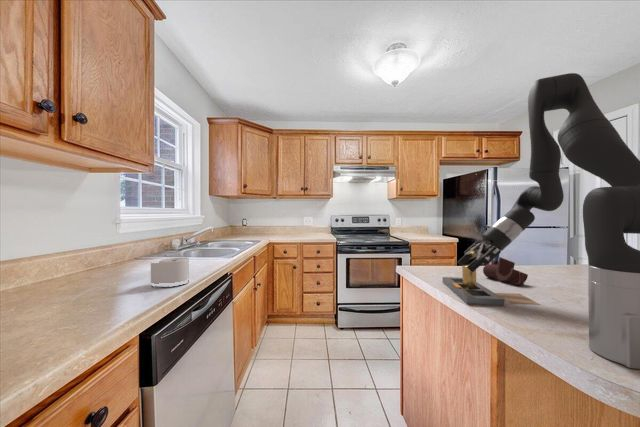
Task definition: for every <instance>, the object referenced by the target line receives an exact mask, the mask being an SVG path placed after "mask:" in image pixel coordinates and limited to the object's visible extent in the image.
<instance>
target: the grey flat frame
mask: <svg viewBox="0 0 640 427" xmlns="http://www.w3.org/2000/svg"><path fill="white" fill-rule="evenodd" d="M442 283H443V284H444V285H445V287H447V288H448V289H449V290H450V291H452V292H453V293H454V294H455V295H456V297H458V298H459V299H461V301H463V302H464V304H466V305H471V306H486V307H487V306H491V307H505V301H506V300H505V299H503V298H501V297H500V296H498V295H497V294H495V293H496V292H493V291H492V290H490V289H489V288H487V287H485V286H484V285H482V284H480V283H479V282H478V281H476V289H463V277H453V276H452V277H451V276H443V277H442Z"/></svg>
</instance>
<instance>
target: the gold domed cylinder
mask: <svg viewBox="0 0 640 427" xmlns="http://www.w3.org/2000/svg"><path fill="white" fill-rule="evenodd" d="M468 265H469V264H465V265H462V266H461V269H462V272H461V273H462V278H463V289H476V282H477V269H476V270H475V271H474V272H471V271H470V270H469V269H468V268H467V266H468Z"/></svg>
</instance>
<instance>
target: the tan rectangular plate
mask: <svg viewBox="0 0 640 427" xmlns="http://www.w3.org/2000/svg"><path fill="white" fill-rule="evenodd" d="M494 293H495V294H497V295H498V296H500V297H501V298H503V299H505V301H506V302H507V303H509V304H514V305H536V306H541V303H539V302H536V301H534V300H533V299H531V298H530V297H527V296H525V295H523V294H521V293H514V292H513V293H510V292H509V293H508V292H494Z"/></svg>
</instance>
